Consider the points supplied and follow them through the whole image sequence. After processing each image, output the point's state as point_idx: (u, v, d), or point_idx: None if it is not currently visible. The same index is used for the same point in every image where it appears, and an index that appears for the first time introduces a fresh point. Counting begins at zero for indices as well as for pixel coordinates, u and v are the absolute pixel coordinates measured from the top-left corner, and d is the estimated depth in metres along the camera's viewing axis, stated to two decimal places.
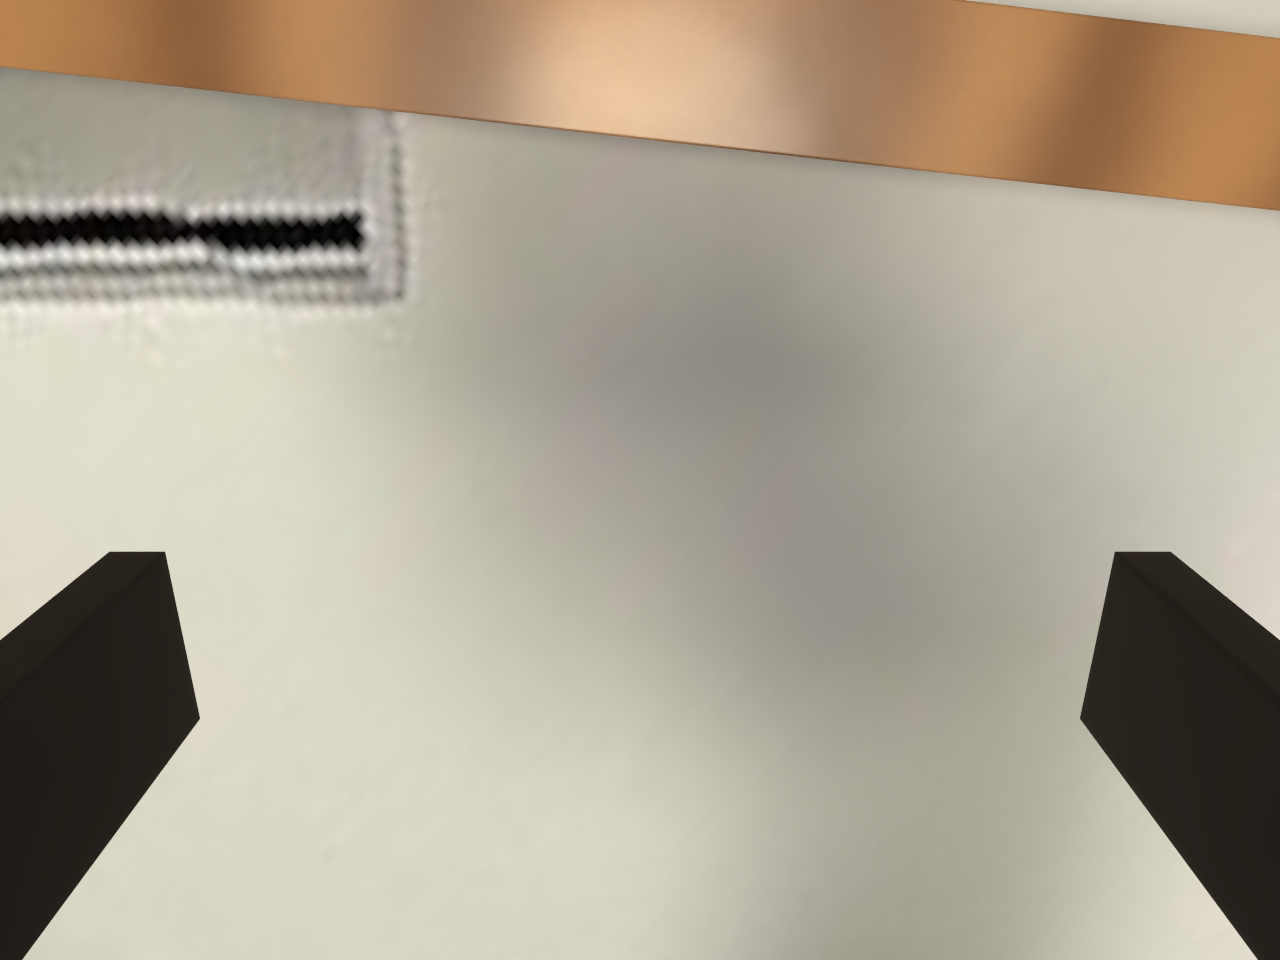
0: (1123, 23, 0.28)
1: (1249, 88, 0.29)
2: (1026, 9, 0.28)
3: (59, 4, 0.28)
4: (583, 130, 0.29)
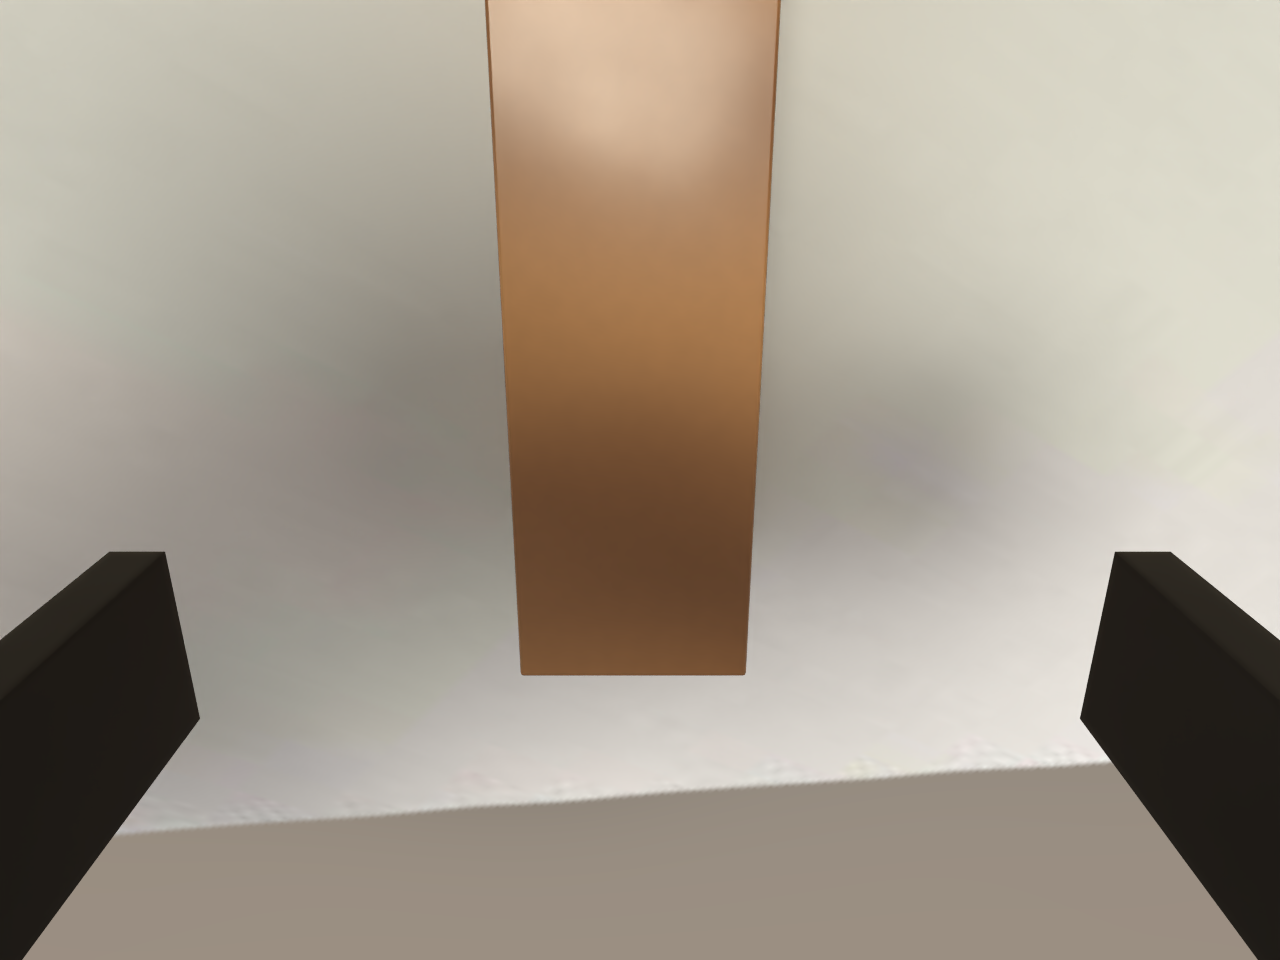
0: None
1: None
2: None
3: None
4: None
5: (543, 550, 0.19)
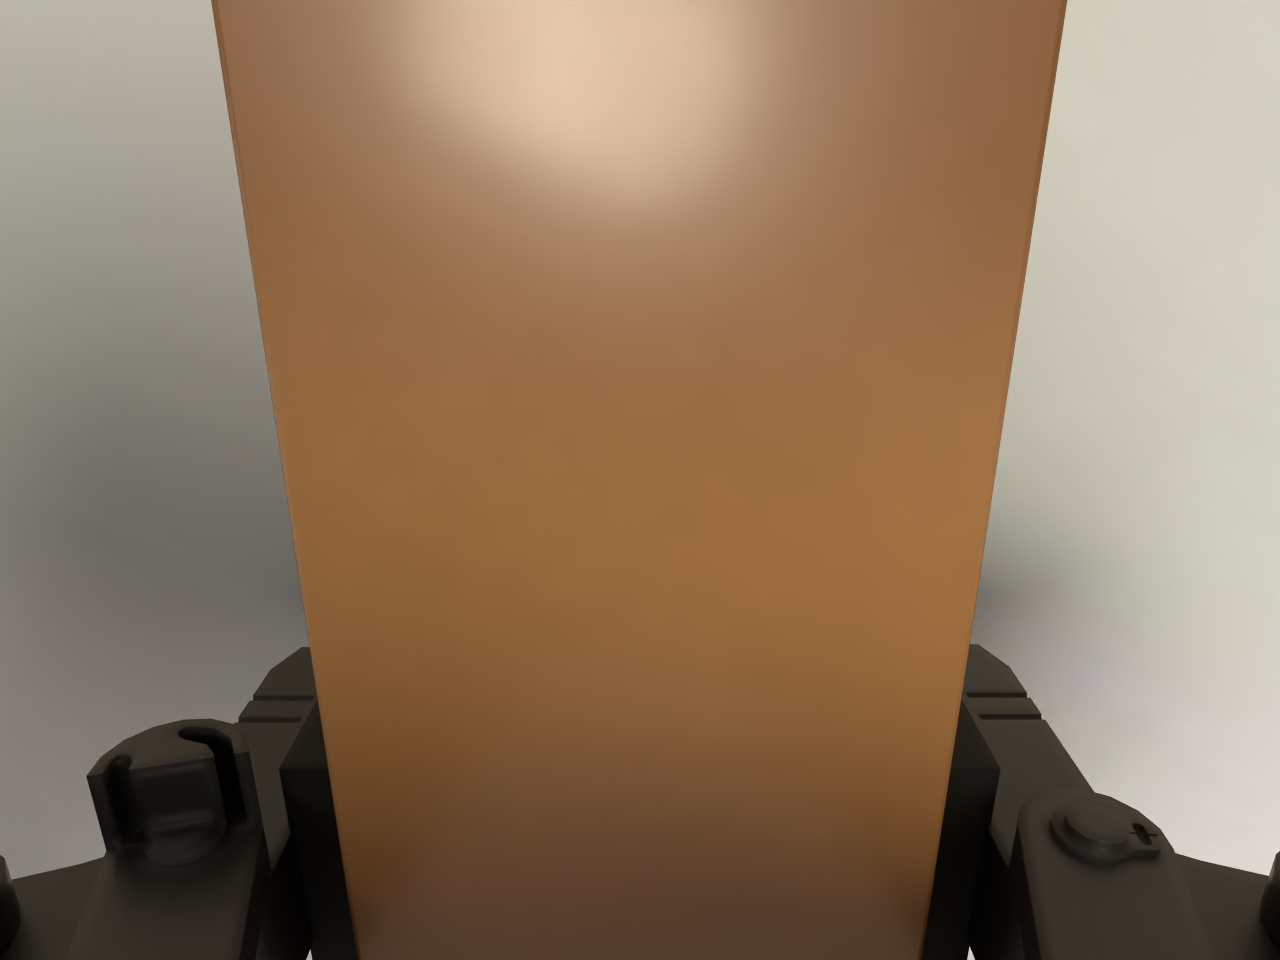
0: None
1: None
2: None
3: None
4: None
5: None
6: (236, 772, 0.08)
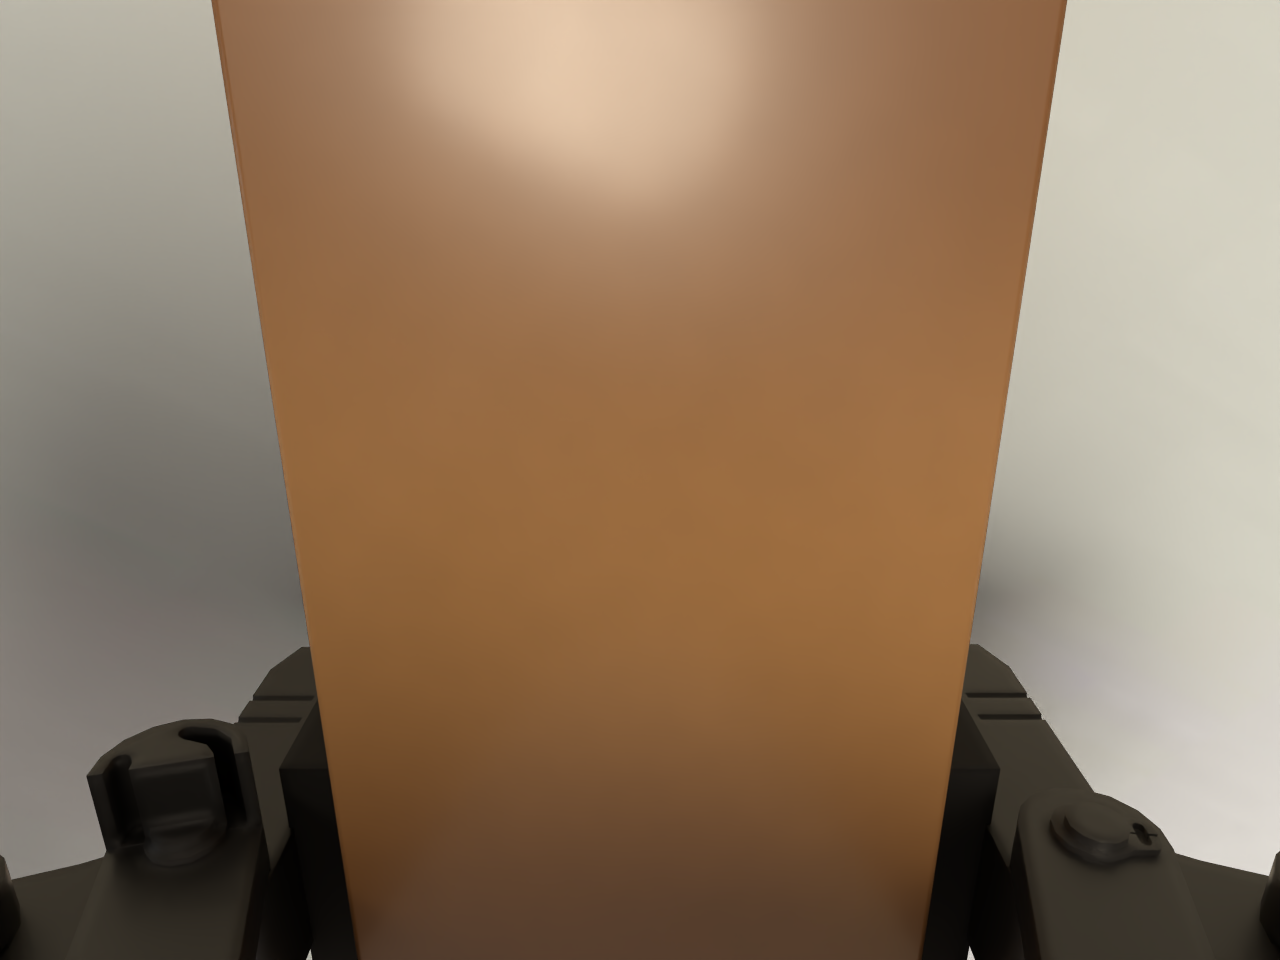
0: None
1: None
2: None
3: None
4: None
5: None
6: (236, 772, 0.08)
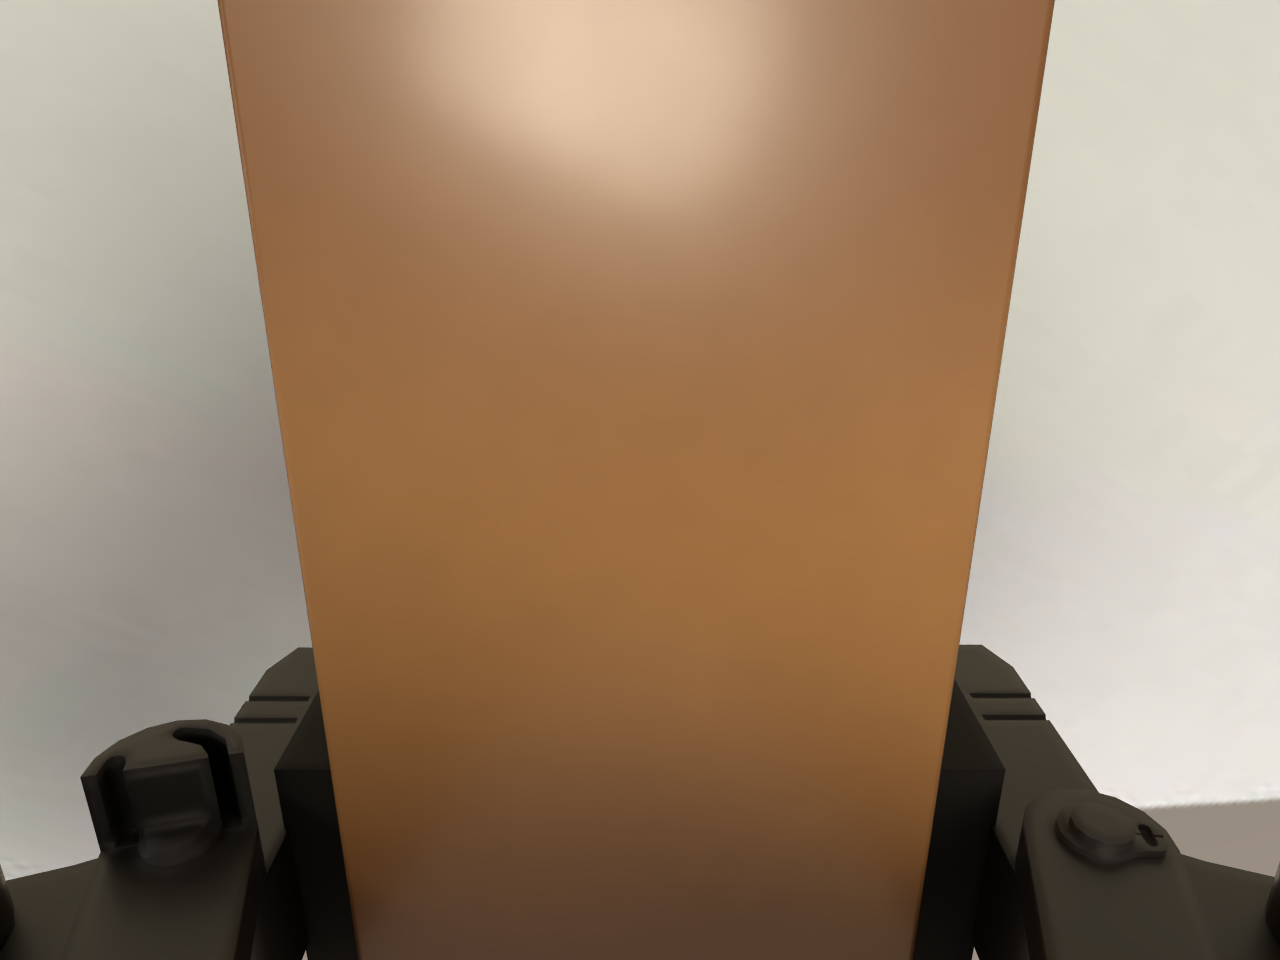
0: None
1: None
2: None
3: None
4: None
5: None
6: (230, 773, 0.08)
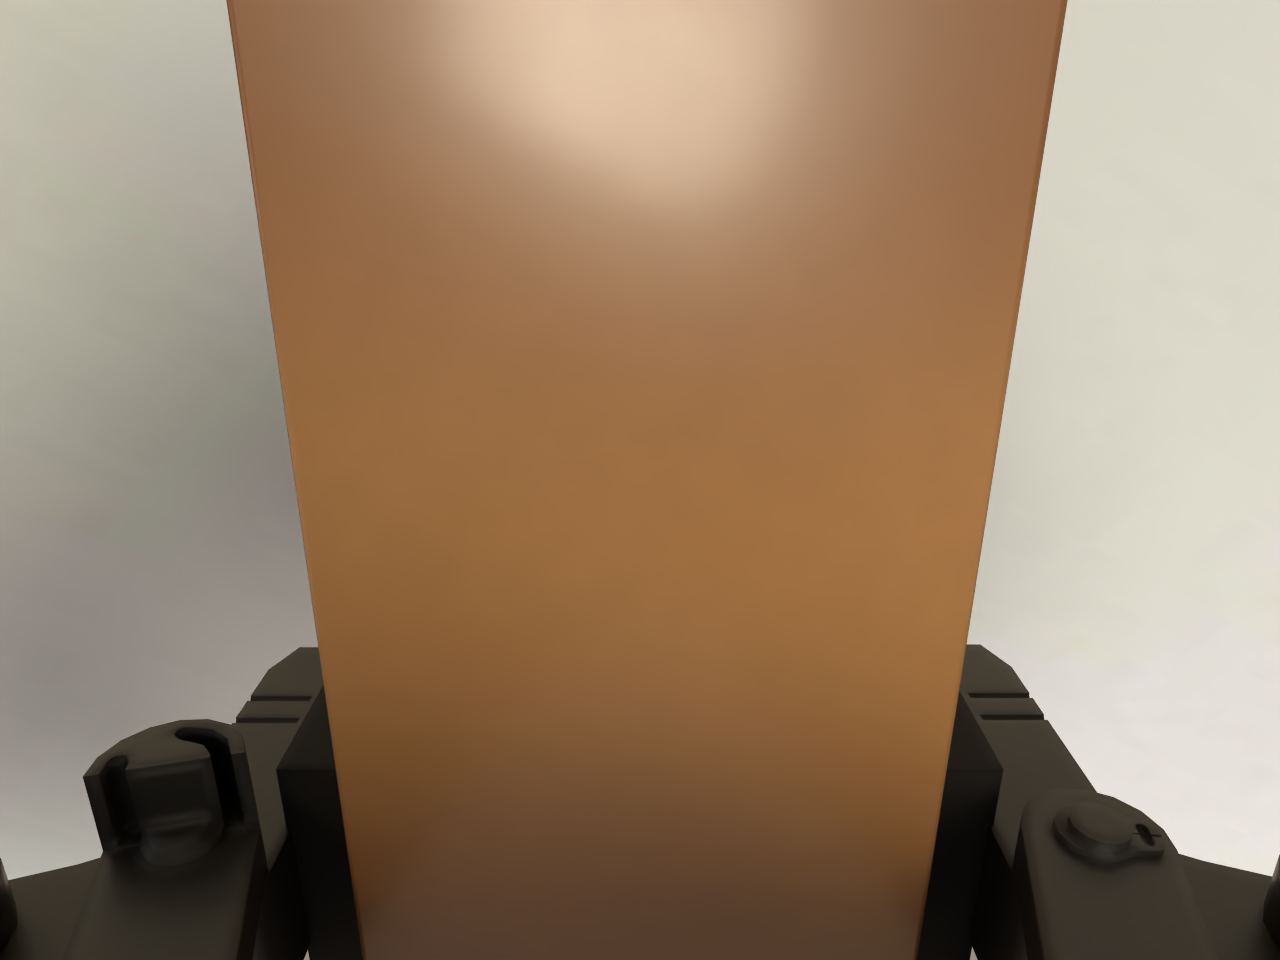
0: None
1: None
2: None
3: None
4: None
5: None
6: (233, 772, 0.08)
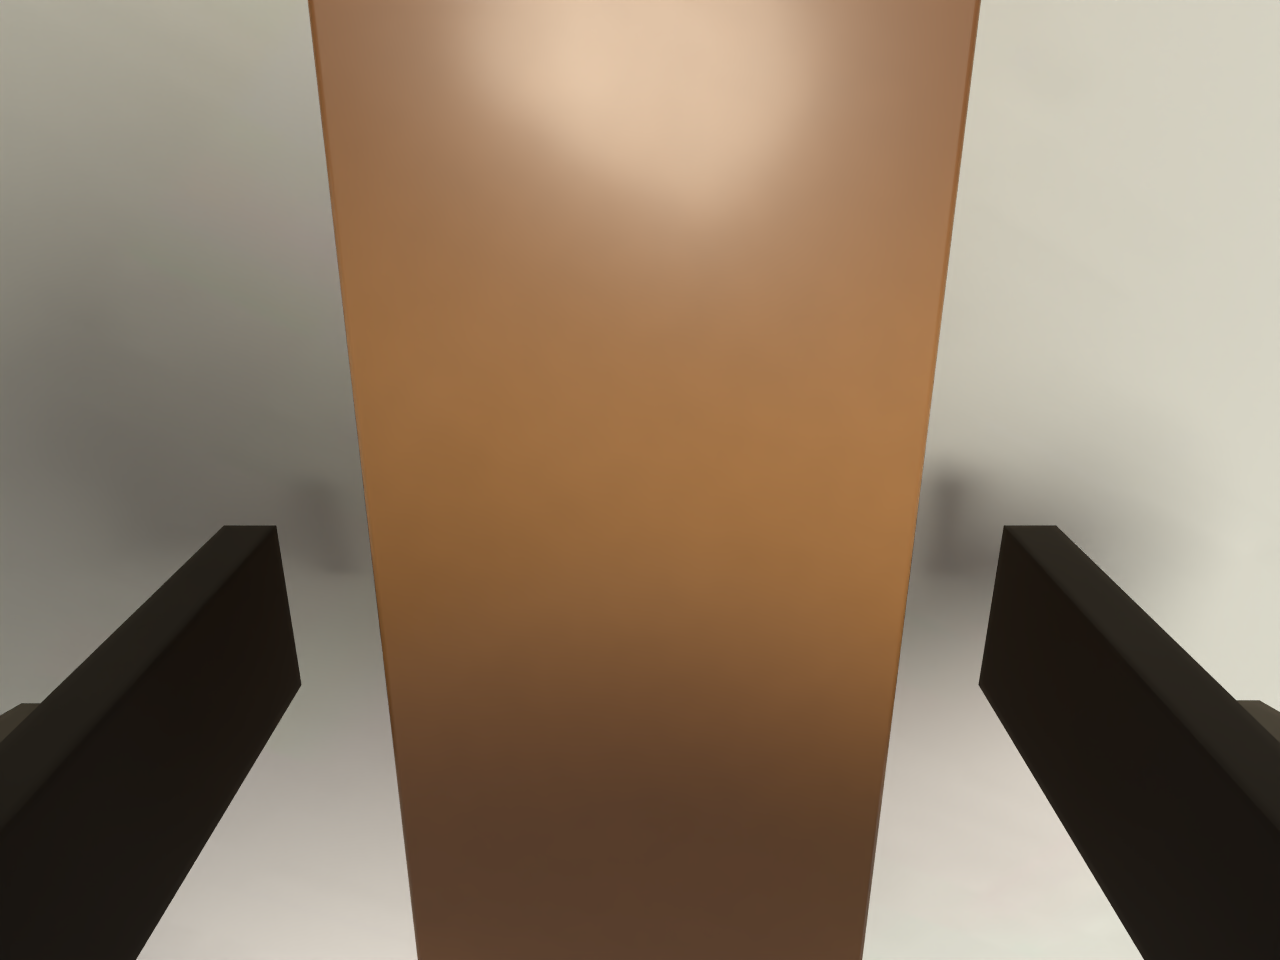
0: None
1: None
2: None
3: None
4: None
5: (468, 909, 0.10)
6: None
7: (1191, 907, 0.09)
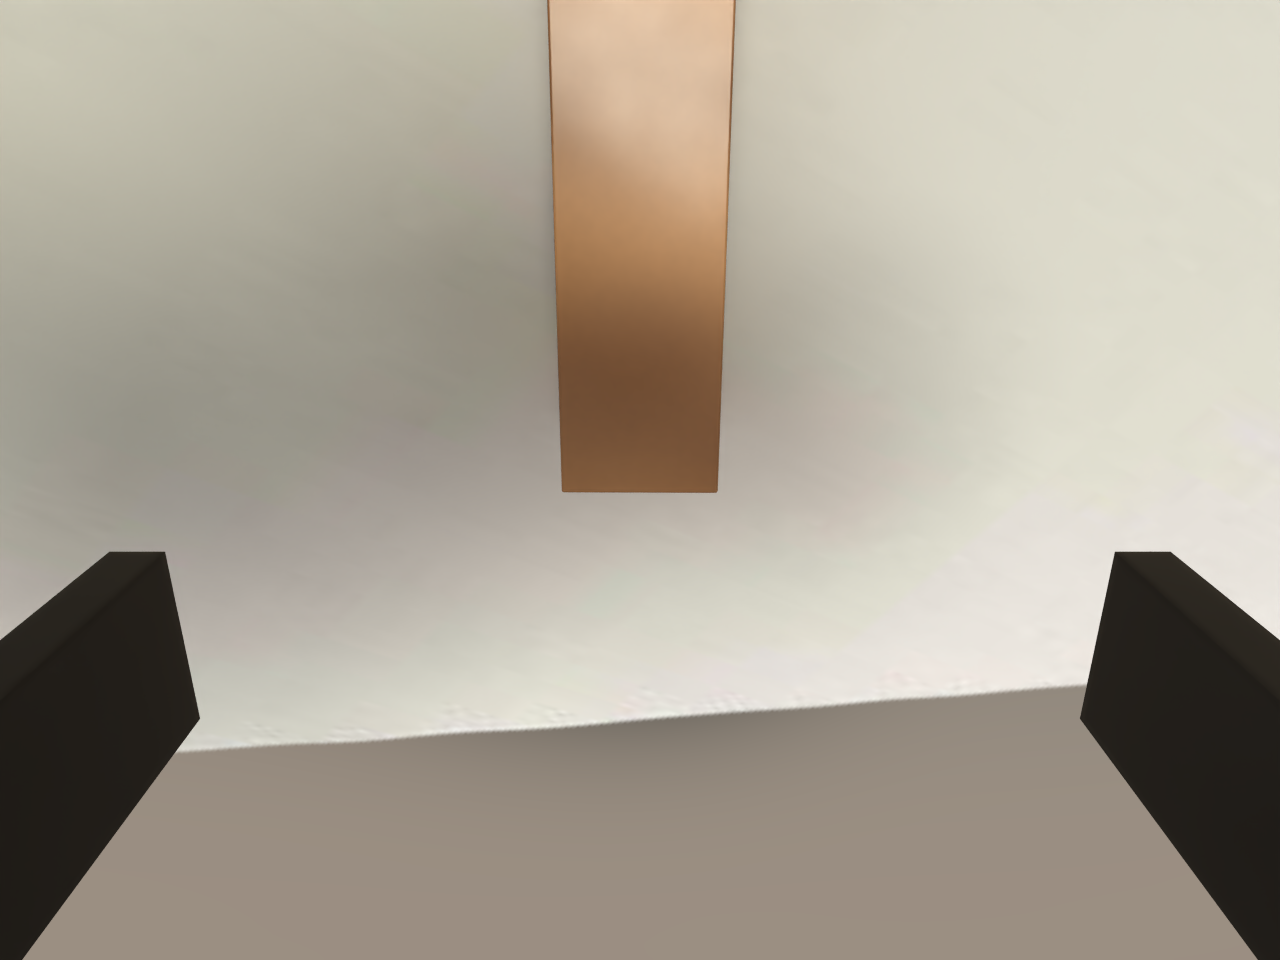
0: None
1: None
2: None
3: None
4: None
5: (579, 399, 0.28)
6: None
7: None
